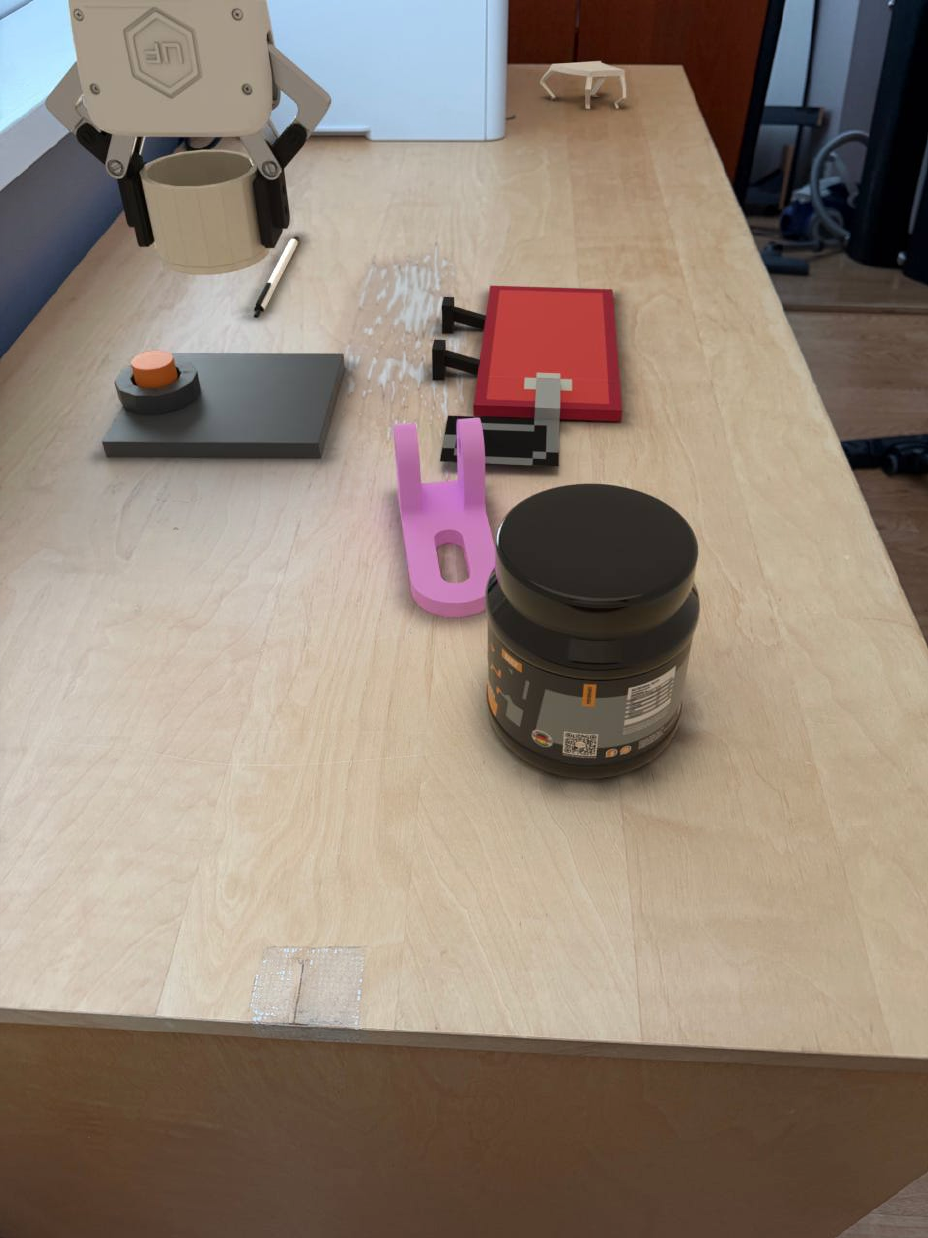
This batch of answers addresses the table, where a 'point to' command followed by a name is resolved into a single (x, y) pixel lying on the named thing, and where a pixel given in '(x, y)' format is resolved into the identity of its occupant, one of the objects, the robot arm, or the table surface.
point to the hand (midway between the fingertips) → (211, 236)
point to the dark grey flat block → (230, 407)
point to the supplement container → (590, 628)
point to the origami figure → (588, 77)
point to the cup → (203, 211)
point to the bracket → (445, 521)
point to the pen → (275, 277)
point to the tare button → (154, 369)
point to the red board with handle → (534, 369)
